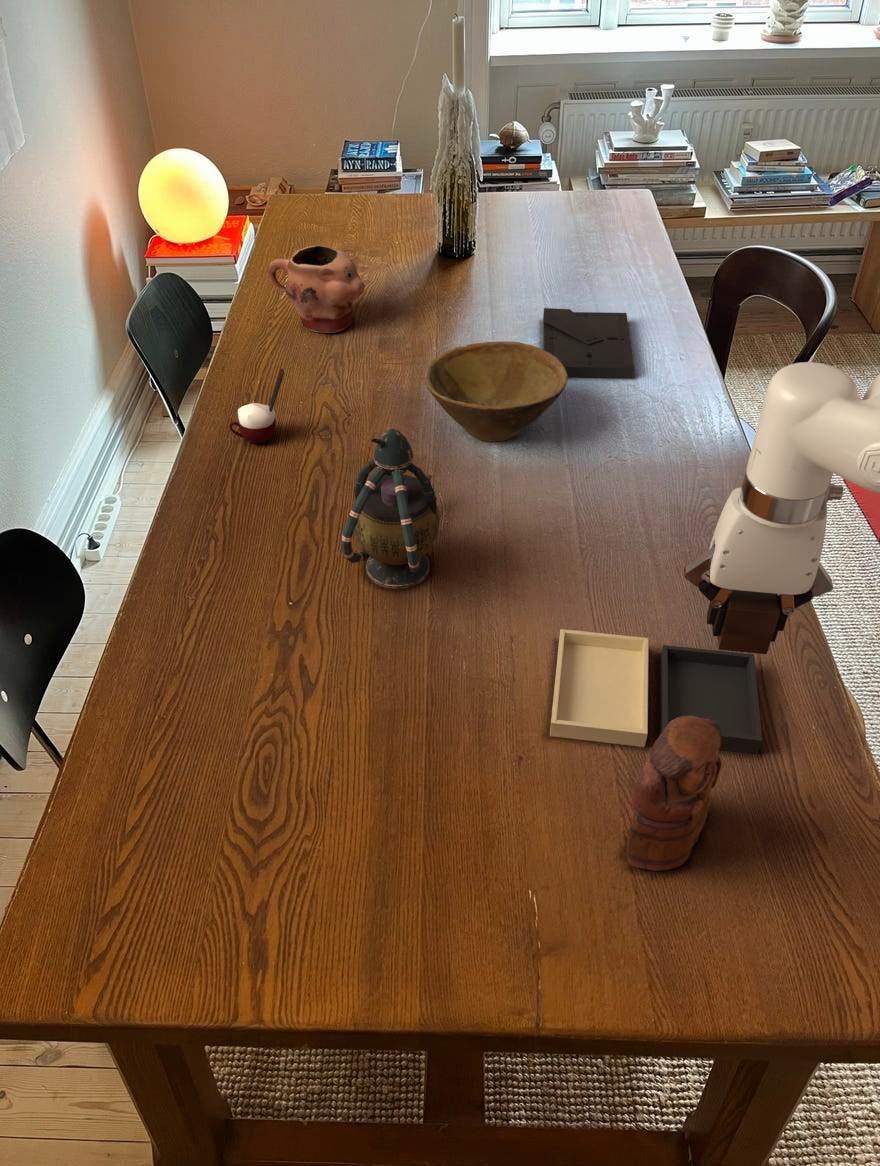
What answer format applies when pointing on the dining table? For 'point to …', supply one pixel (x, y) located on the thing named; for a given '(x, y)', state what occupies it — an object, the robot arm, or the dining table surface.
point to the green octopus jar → (392, 516)
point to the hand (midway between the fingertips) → (742, 628)
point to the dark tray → (712, 693)
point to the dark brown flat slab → (589, 343)
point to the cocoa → (258, 418)
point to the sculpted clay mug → (320, 287)
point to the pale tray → (601, 688)
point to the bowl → (496, 386)
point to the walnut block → (749, 622)
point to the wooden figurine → (674, 793)
